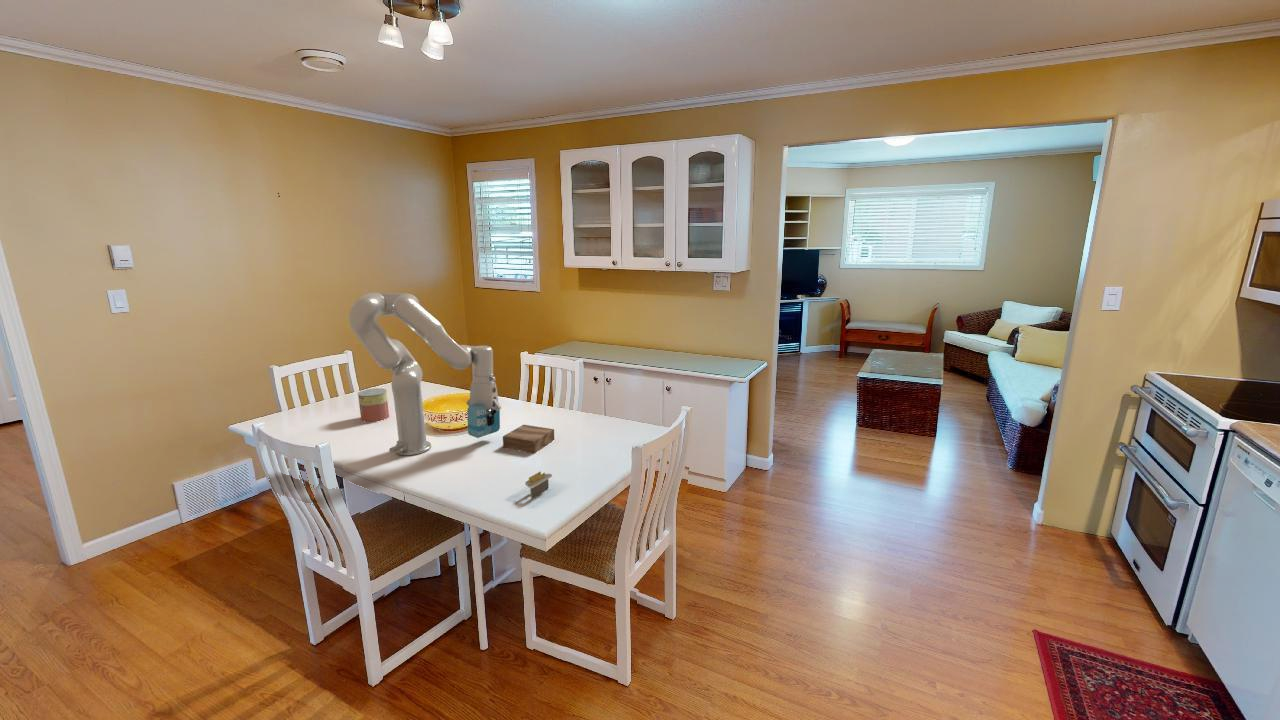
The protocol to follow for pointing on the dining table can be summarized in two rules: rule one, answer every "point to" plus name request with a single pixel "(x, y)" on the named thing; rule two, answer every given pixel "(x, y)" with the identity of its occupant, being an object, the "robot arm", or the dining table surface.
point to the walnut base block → (528, 438)
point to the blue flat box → (481, 421)
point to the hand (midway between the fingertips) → (484, 423)
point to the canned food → (373, 405)
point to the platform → (538, 483)
